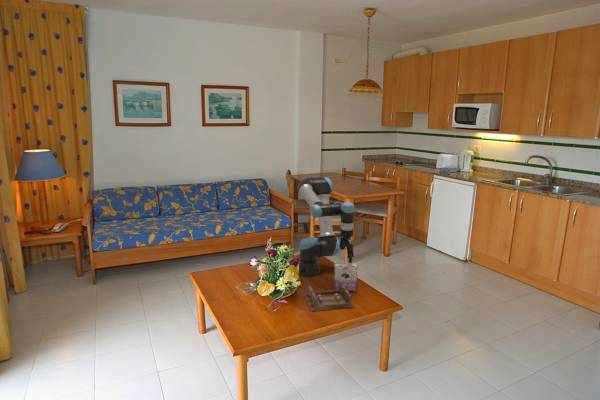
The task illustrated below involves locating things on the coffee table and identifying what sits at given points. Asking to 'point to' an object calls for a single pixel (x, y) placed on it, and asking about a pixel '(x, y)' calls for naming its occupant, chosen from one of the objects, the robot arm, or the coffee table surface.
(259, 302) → the coffee table surface
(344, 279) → the candy box
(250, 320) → the coffee table surface
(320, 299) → the peg frame
